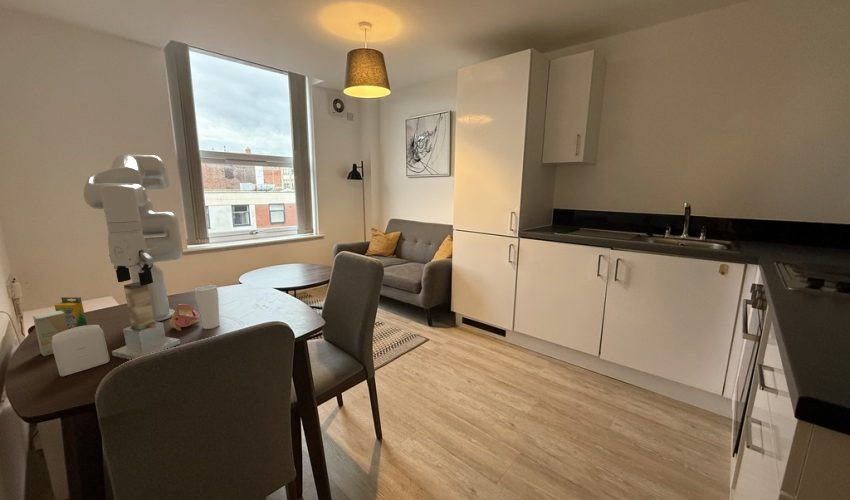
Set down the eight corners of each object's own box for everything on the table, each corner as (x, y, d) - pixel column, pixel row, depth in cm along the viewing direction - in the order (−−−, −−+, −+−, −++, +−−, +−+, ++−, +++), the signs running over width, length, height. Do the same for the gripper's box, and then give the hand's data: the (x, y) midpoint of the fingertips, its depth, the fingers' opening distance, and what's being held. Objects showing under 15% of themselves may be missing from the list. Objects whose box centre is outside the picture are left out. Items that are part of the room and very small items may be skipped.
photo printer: (59, 378, 90) (49, 336, 87) (58, 373, 92) (48, 331, 90) (111, 363, 97) (102, 323, 95) (108, 358, 100) (100, 319, 98)
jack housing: (112, 355, 101) (107, 329, 100) (154, 338, 113) (150, 315, 111) (140, 361, 98) (134, 335, 96) (180, 343, 109) (176, 319, 107)
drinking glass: (211, 331, 118) (205, 291, 115) (195, 329, 119) (189, 290, 116) (226, 323, 124) (221, 285, 121) (211, 322, 126) (205, 284, 123)
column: (131, 328, 102) (123, 285, 100) (146, 323, 106) (138, 281, 104) (140, 330, 101) (132, 286, 99) (155, 325, 105) (147, 282, 102)
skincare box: (43, 356, 101) (34, 319, 99) (40, 353, 103) (30, 316, 101) (73, 348, 107) (65, 312, 104) (69, 344, 109) (61, 309, 106)
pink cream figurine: (163, 335, 117) (161, 311, 121) (191, 337, 125) (188, 314, 130) (182, 322, 115) (179, 298, 119) (208, 325, 124) (206, 303, 128)
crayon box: (59, 330, 120) (52, 300, 117) (68, 327, 122) (61, 297, 120) (79, 330, 119) (72, 299, 117) (88, 327, 122) (81, 297, 120)
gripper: (90, 227, 97) (102, 283, 100) (131, 230, 92) (141, 289, 95) (119, 224, 104) (130, 276, 107) (159, 227, 99) (168, 281, 102)
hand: (135, 282), depth 101 cm, fingers open, 9 cm apart
